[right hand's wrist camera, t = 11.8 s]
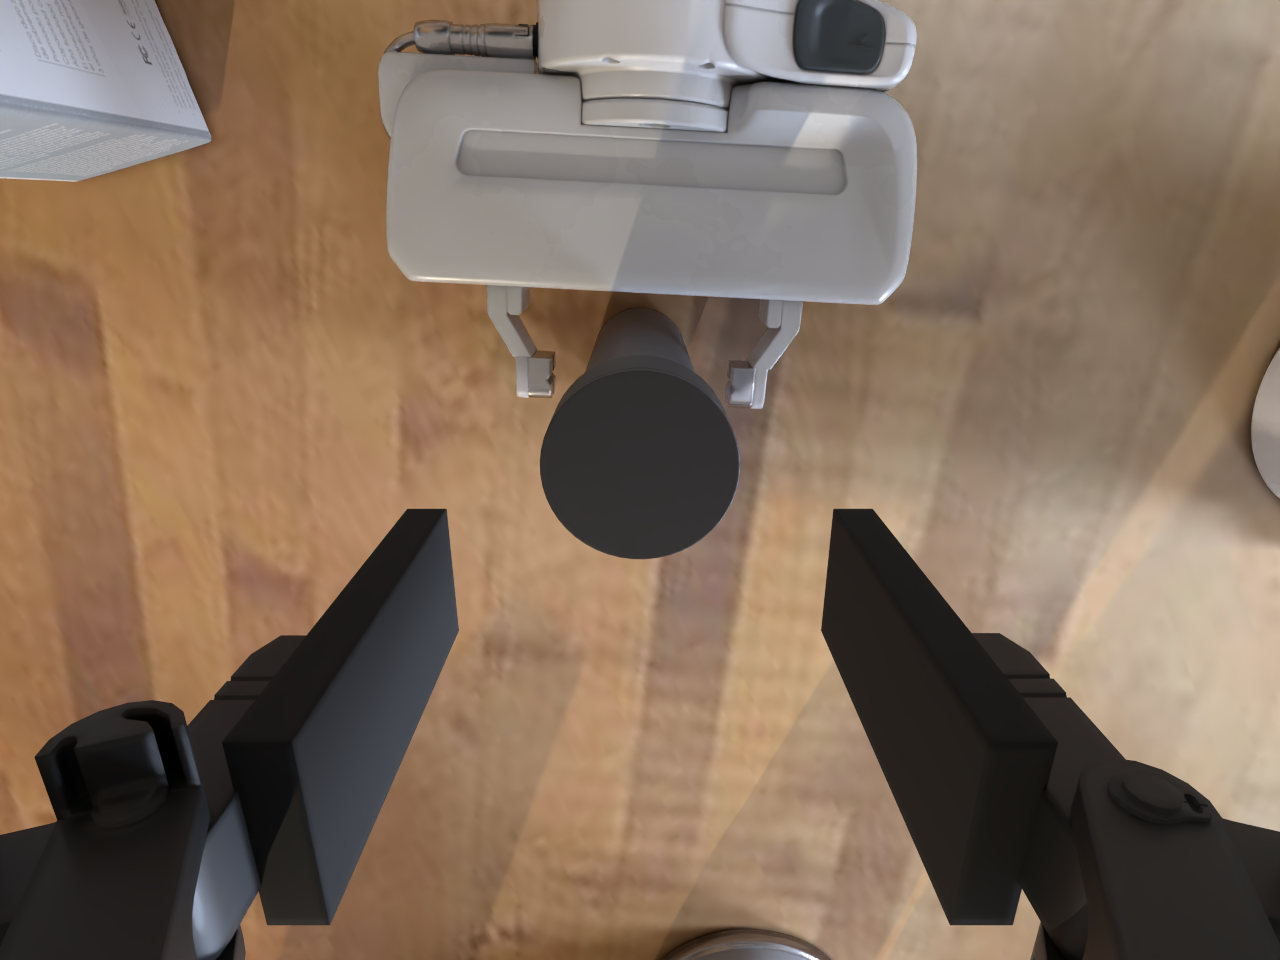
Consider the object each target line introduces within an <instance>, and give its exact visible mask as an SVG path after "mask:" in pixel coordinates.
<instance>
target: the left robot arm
mask: <svg viewBox="0 0 1280 960" xmlns="http://www.w3.org/2000/svg"><path fill="white" fill-rule="evenodd" d="M414 44H415V45H416V48H417V50H418V51H419V52H421V53H407V52H401V51H402V50H403V49H405V48H406V47H408V46H411V45H414ZM915 46H916V27H915V24H914V22H913V21H912V19H911V18H910V17H909V16H908V15H906V14H905V13H903V12H902V11H900V10H898V9H896V8H894V7H892V6H890V5H888V4H885V3H883V2H881V1H879V0H538V22H537V23H536V25H526V24H519V25H517V24H498V23H491V24H480V25H478V24H477V25H472V26H471V25H465V26H464V25H458V24H453V23H452V22H449V21H444V20H426V21H420V22H417V23H415V26H414V31H413V32H408V33H405V34H403V35H401V36H399V37H397V38H396V39H395V40H394V41H393V42H392V43H391V44H390V45H389V46H388V47H387V48H386V50H385V52H384V53H383V55H382V57H381V60H380V63H379V69H378V82H379V97H380V112H381V118H382V122H383V126H384V129H385V131H386V133H387V135H388V136H389V138H390V139H391V143H390V153H389V164H388V178H387V202H386V236H387V249H388V253H389V255H390V257H391V259H392V260H393V261H394V263H395V264H396V265H397V267H398V268H399V269H400V270H401V272H402V273H403V274H404V275H405V276H406V277H407V278H408V279H409V280H412V281H420V282H439V283H458V284H478V285H487V308H488V316H489V317H490V319H491V321H492V322H493V324H494V326H495V327H496V329H497V331H498V332H499V334H500V336H501V338H502V339H503V341H504V343H505V344H506V346H507V348H508V349H509V351H510V353H511V354H512V356H513V357H516V393H517V397H526V398H529V397H531V398H552V395H553V394H554V391H555V375H554V374H553V370H554V368H555V352H553V351H539V350H537V348H536V346H535V345H534V343H533V341H532V339H531V337H530V335H529V333H528V332H527V330H526V328H525V326H524V324H523V322H522V320H521V318H520V317H519V315H520V314H521V313H522V312H523V311H525V310H526V309H527V308H528V307H529V287H536V288H555V289H575V290H594V291H613V292H633V293H652V294H672V295H691V296H710V297H730V298H749V299H760V308H759V319H760V321H761V322H763V323H764V324H765V325H766V326H767V327H768V329H767V330H766V332H765V333H764V335H763V336H762V338H761V339H760V340H759V342H758V343H757V345H756V346H755V348H754V349H753V351H752V352H751V354H750V355H749V357H748V358H747V361H733V360H728V368H727V376H728V378H729V380H730V381H729V382H728V383H727V384H726V389H725V401H726V403H727V406H728V407H735V408H752V409H762V407H763V404H764V398H765V389H766V380H767V371H768V369H771V368H772V367H773V366H774V364H775V363H776V362H777V360H778V359H779V357H780V356H781V355H782V353H783V352H784V351H785V349H786V348H787V347H788V345H789V344H790V343H791V341H792V340H793V339H794V337H795V336H796V335H797V333H798V332H799V330H800V323H801V316H802V308H803V301H807V302H827V303H846V304H867V305H878V304H881V303H883V302H884V301H885V300H886V299H887V298H888V297H889V296H890V295H891V294H892V293H893V292H894V291H895V290H896V289H897V287H898V286H899V285H900V284H901V283H902V281H903V280H904V277H905V274H906V271H907V266H908V261H909V255H910V248H911V241H912V233H913V224H914V213H915V200H916V183H917V144H916V136H915V131H914V127H913V124H912V121H911V119H910V117H909V115H908V113H907V112H906V110H905V109H904V107H903V106H902V105H901V104H900V103H899V102H898V101H897V100H896V99H894V98H893V97H891V96H890V95H888V94H885V93H886V92H888V91H889V90H891V89H892V88H894V87H895V86H896V85H897V84H899V83H900V82H901V81H902V80H903V79H904V78H905V77H906V75H907V74H908V72H909V70H910V67H911V65H912V61H913V57H914V52H915ZM455 54H457V55H455ZM465 54H467V55H474V56H461V55H465ZM478 56H481V57H478ZM536 57H537V59H538V72H539V74H537V62H536ZM1251 441H1252V449H1253V455H1254V459H1255V462H1256V465H1257V468H1258V470H1259V472H1260V474H1261V476H1262V478H1263V480H1264V481H1265V483H1266V485H1267V486H1268V487H1269V488H1270V490H1271V491H1272V492H1273V493H1274V494H1275V495H1276V496H1277V497H1278V498H1279V499H1280V348H1279V349H1278V351H1277V352H1276V354H1275V356H1274V357H1273V359H1272V361H1271V363H1270V365H1269V366H1268V368H1267V371H1266V373H1265V375H1264V377H1263V379H1262V382H1261V385H1260V387H1259V390H1258V393H1257V396H1256V400H1255V404H1254V409H1253V415H1252V423H1251Z"/></svg>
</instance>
